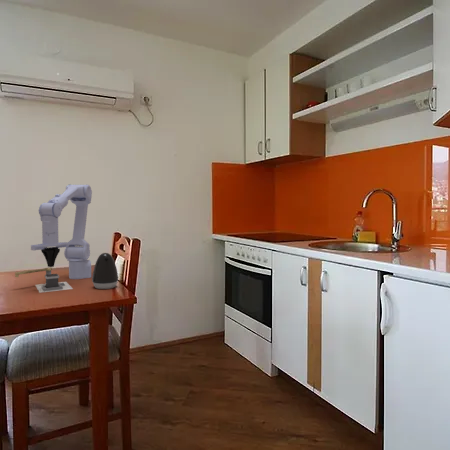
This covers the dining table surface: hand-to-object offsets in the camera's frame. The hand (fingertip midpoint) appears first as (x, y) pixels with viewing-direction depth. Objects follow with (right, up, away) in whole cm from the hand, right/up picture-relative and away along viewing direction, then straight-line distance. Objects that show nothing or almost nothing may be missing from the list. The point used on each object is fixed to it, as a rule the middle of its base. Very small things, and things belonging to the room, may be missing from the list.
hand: (50, 266), depth 140 cm
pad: (0, -9, +7) cm, 11 cm away
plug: (0, -9, +1) cm, 9 cm away
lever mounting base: (-1, -10, +4) cm, 10 cm away
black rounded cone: (+20, -10, +5) cm, 23 cm away
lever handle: (-8, -4, +3) cm, 10 cm away
